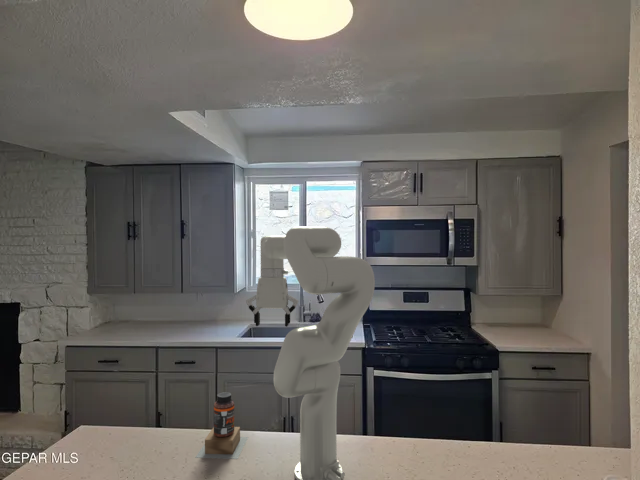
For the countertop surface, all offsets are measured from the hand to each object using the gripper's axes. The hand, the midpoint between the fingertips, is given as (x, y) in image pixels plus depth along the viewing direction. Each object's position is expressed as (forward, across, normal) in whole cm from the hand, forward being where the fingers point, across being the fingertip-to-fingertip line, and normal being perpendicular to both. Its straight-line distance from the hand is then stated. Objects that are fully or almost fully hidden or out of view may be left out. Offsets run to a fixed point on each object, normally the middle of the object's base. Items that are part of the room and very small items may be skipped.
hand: (272, 325), depth 130 cm
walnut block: (+32, +12, +15) cm, 38 cm away
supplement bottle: (+28, +12, +15) cm, 34 cm away
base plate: (+33, +12, +15) cm, 38 cm away
